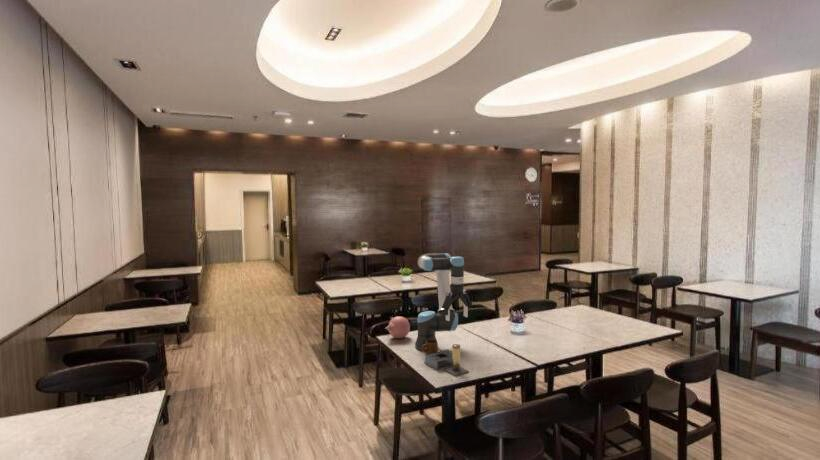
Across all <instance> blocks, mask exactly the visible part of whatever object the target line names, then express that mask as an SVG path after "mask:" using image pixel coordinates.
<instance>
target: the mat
mask: <svg viewBox="0 0 820 460" xmlns="http://www.w3.org/2000/svg"><path fill="white" fill-rule="evenodd" d="M443 371H444V372H446V373H448V374H450V375H451V376H454V377H458V376H461V375H465V374H468V373H469V372H470V371H469V370H467V369H466V368H464V367H462V366H460V371H457V372H456V371H453V370H452V366H451V367H447V368H444V369H443Z"/></svg>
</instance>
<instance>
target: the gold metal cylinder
mask: <svg viewBox="0 0 820 460" xmlns="http://www.w3.org/2000/svg"><path fill="white" fill-rule="evenodd" d="M451 349H452V350H451V351H452V366H451V367H452V370H453V371H456V372H457V371H460V367H461V344H458V343H456V344H455V343H454V344H452V347H451Z"/></svg>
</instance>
